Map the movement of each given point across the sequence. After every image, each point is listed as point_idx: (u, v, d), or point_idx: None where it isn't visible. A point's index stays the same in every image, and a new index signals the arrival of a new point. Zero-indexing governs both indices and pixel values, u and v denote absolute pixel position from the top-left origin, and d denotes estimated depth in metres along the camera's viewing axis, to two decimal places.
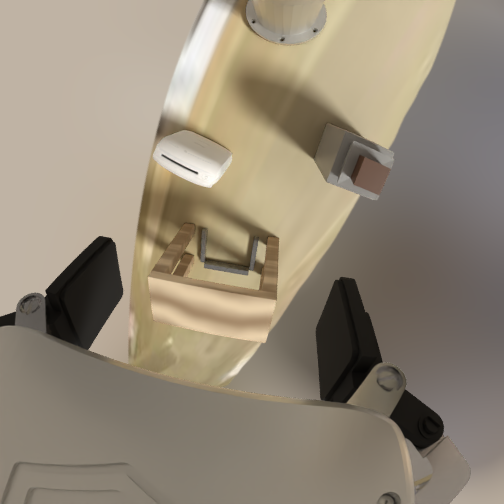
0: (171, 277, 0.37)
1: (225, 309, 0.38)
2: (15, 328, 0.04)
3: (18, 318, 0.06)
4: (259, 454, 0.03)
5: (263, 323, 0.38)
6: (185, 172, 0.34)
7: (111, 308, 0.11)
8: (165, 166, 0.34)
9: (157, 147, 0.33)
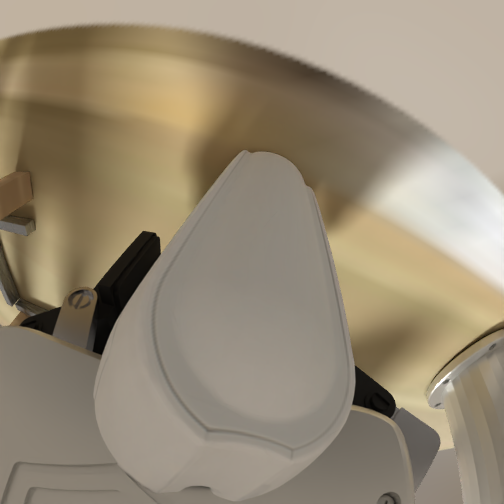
0: None
1: None
2: (15, 328, 0.04)
3: (64, 310, 0.07)
4: None
5: None
6: None
7: None
8: None
9: (283, 471, 0.02)
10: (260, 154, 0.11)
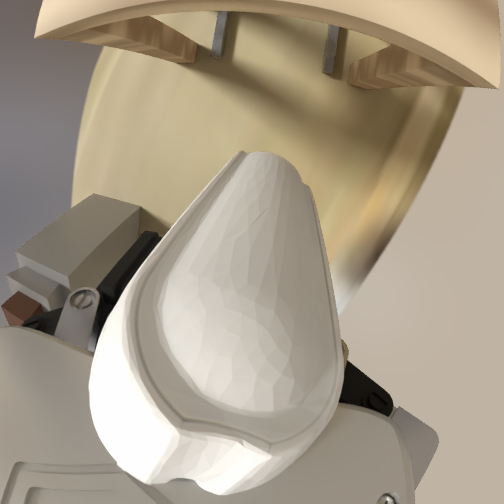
0: (420, 50, 0.06)
1: None
2: (15, 328, 0.04)
3: (66, 310, 0.07)
4: None
5: None
6: None
7: None
8: None
9: (263, 465, 0.02)
10: (256, 154, 0.11)
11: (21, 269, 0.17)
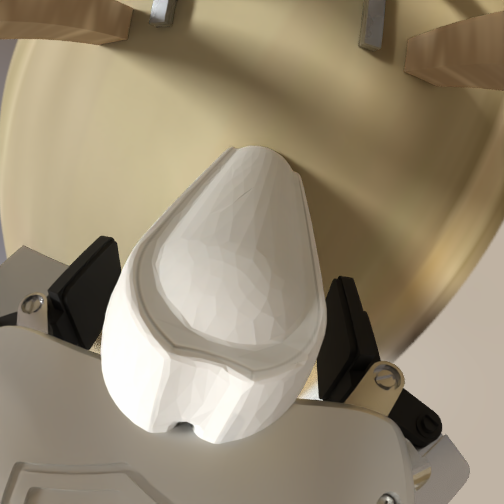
0: None
1: None
2: (15, 328, 0.04)
3: (20, 317, 0.06)
4: (259, 454, 0.03)
5: None
6: None
7: None
8: None
9: (248, 395, 0.03)
10: (245, 148, 0.12)
11: None
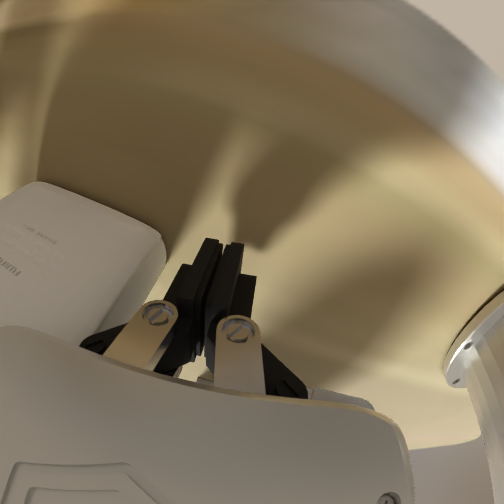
0: None
1: None
2: (15, 328, 0.04)
3: (135, 320, 0.07)
4: (259, 453, 0.03)
5: None
6: None
7: None
8: None
9: None
10: None
11: None
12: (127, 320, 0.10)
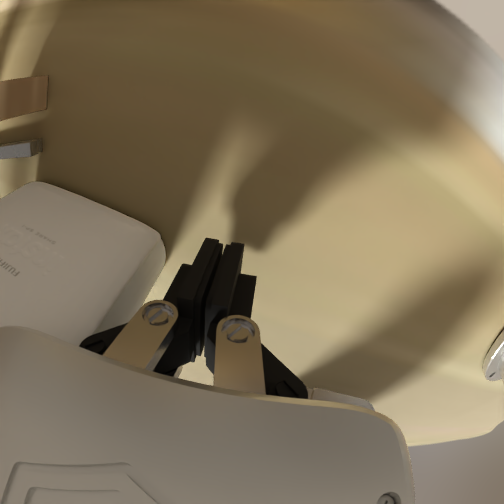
0: None
1: None
2: (15, 328, 0.04)
3: (135, 320, 0.07)
4: (259, 454, 0.03)
5: None
6: None
7: None
8: None
9: None
10: None
11: None
12: (126, 320, 0.10)
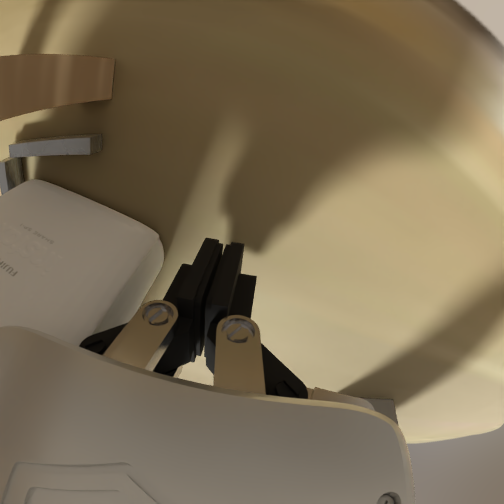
0: None
1: None
2: (15, 328, 0.04)
3: (134, 320, 0.07)
4: (259, 453, 0.03)
5: None
6: None
7: None
8: None
9: None
10: None
11: None
12: (124, 321, 0.09)
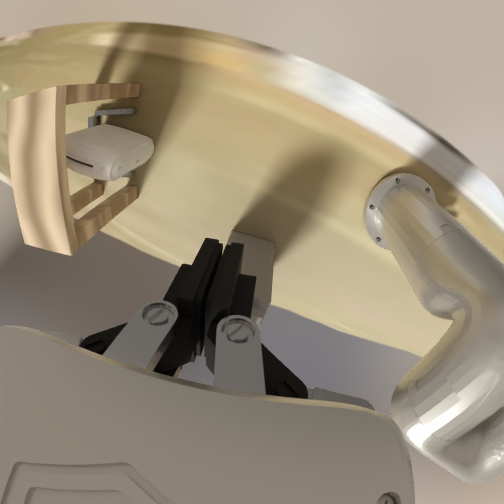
0: (61, 118, 0.18)
1: (41, 197, 0.22)
2: (15, 328, 0.04)
3: (134, 320, 0.07)
4: (259, 453, 0.03)
5: (42, 241, 0.25)
6: (80, 167, 0.25)
7: None
8: None
9: None
10: None
11: None
12: (139, 155, 0.32)
